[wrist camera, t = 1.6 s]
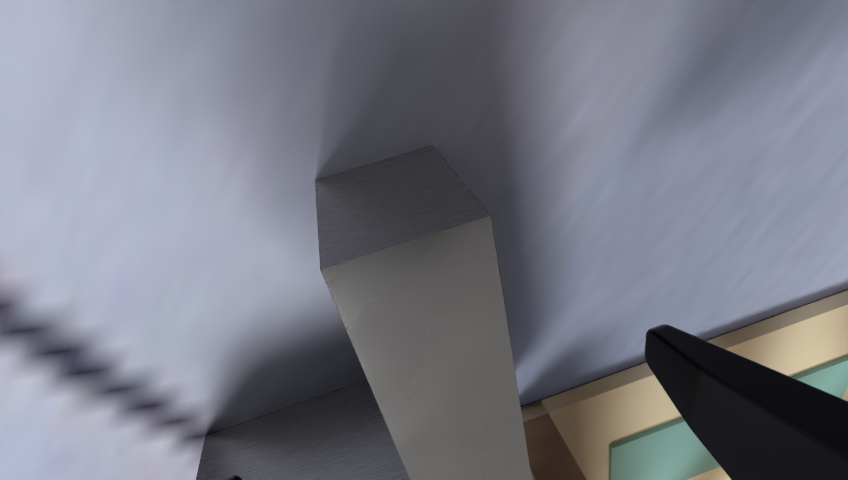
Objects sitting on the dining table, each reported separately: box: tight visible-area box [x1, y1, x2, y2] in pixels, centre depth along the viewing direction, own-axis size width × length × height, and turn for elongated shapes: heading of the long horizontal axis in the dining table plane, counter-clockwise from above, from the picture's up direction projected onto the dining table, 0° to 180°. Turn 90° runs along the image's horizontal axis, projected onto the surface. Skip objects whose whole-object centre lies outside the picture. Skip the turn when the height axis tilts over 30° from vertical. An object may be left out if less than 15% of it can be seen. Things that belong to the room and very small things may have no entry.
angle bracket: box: [196, 145, 532, 480], centre depth 11 cm, size 10×9×4 cm
